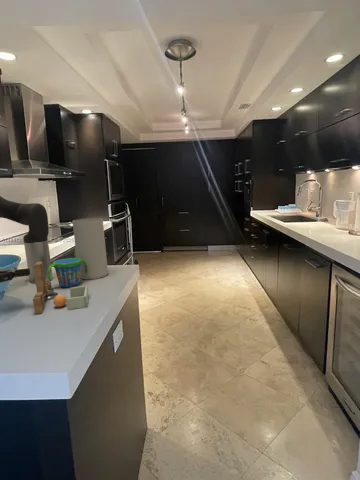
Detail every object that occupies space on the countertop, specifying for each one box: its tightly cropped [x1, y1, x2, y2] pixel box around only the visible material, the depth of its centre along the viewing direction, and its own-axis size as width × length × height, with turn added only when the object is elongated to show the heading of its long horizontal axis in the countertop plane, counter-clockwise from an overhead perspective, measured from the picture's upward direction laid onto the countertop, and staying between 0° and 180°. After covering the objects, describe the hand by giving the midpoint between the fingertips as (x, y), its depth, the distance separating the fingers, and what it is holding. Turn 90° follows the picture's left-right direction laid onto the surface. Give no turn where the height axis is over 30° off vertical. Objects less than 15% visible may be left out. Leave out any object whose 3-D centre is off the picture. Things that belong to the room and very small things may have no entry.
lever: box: [32, 262, 53, 315], centre depth 98 cm, size 18×4×14 cm, turn 15°
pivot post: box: [44, 287, 59, 301], centre depth 106 cm, size 7×7×3 cm
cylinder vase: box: [72, 217, 109, 280], centre depth 129 cm, size 12×12×25 cm
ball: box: [53, 294, 67, 308], centre depth 96 cm, size 4×4×4 cm
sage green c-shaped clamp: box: [66, 285, 90, 311], centre depth 99 cm, size 12×6×4 cm, turn 15°
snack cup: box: [47, 257, 88, 288], centre depth 118 cm, size 16×10×10 cm
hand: (29, 271), depth 97 cm, fingers closed
